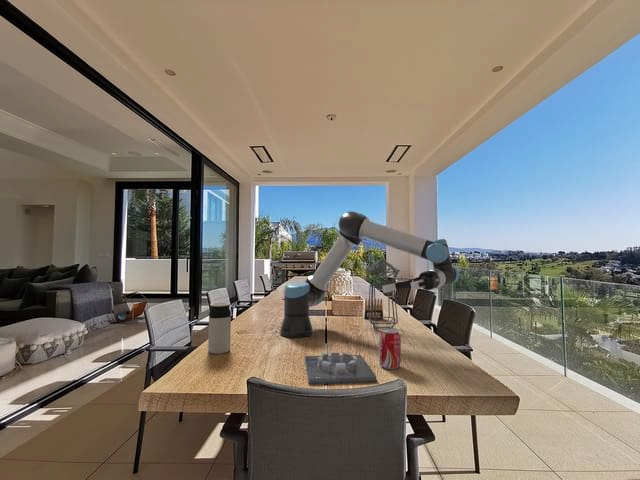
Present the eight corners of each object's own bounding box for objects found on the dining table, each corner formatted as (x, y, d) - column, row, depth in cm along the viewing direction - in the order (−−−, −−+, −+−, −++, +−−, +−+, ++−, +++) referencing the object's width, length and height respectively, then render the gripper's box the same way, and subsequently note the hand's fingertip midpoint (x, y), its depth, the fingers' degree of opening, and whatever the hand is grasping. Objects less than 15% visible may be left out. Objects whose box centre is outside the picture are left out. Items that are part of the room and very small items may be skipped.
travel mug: (227, 354, 117) (228, 305, 118) (205, 354, 117) (206, 305, 117) (232, 347, 125) (233, 301, 126) (211, 348, 125) (212, 301, 125)
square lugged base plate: (308, 384, 91) (308, 370, 91) (304, 360, 111) (305, 349, 111) (376, 382, 93) (376, 368, 93) (360, 359, 113) (360, 347, 113)
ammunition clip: (382, 318, 183) (382, 297, 184) (383, 319, 181) (383, 298, 182) (364, 318, 183) (364, 297, 183) (364, 319, 181) (364, 298, 181)
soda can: (376, 363, 109) (376, 328, 110) (396, 362, 110) (396, 327, 110) (382, 370, 102) (382, 333, 102) (403, 370, 103) (403, 332, 103)
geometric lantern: (402, 333, 149) (400, 259, 150) (368, 334, 149) (367, 260, 150) (394, 325, 165) (393, 258, 166) (364, 326, 165) (363, 258, 166)
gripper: (462, 286, 118) (428, 296, 106) (409, 291, 138) (375, 300, 125) (457, 266, 119) (423, 273, 107) (405, 274, 139) (371, 281, 126)
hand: (397, 287), depth 116 cm, fingers open, 13 cm apart
